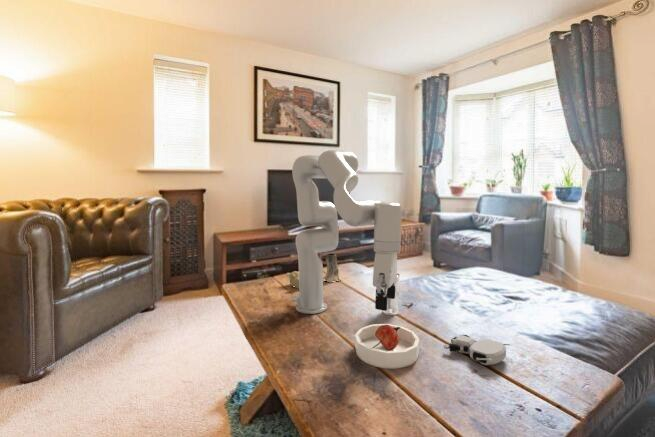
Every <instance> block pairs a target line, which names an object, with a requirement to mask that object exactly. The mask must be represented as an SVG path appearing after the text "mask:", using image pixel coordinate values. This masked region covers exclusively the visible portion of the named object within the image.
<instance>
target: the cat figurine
mask: <svg viewBox="0 0 655 437" xmlns="http://www.w3.org/2000/svg"><path fill="white" fill-rule="evenodd" d="M286 276H287V277H288V279H289V283H290V286H291V287H292V286H295V289H298V288H299V271H296V270H293V271H292V272H287V273H286Z"/></svg>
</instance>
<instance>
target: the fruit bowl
mask: <svg viewBox="0 0 655 437" xmlns="http://www.w3.org/2000/svg"><path fill="white" fill-rule="evenodd" d="M381 325H390V326H392V328H397V327H400V329H398V330H397V333H398V335H399V343H398V345H397V347H396V348H394V349H393V350H390V351H388V350H386V348H385V347H384V346H383V345H382V344H381V343H380V344H379V345H378V346H376V347H374V346H375V345H377V344H378V343H379V342H380V341H379V339H378V338H377V337H376V336H375V332H376V330H377V329H378V328H379V327H380V326H381ZM372 347H374V348H372ZM354 348H355V354H356V356H358V358H359V360H360V361H362V362H363V363H366V364H368V365H370V366H372V367H376V368H380V369H390V370H392V369H393V370H396V369H397V370H398V369H402V368H407V367H411V365H412V366H413V365H414V364H415V363H416V362H417V361H418V359H419V353H420V338H419V337H418V335H417V334H416V333H415V332H414V331H413V330H411V329H409V328H407V327H404V326H401V325H395V324H391V323H390V324H389V323H375V324H370V325H367V326H364V327H361V328H359V329H358V331H357V332H356V333H355V334H354Z"/></svg>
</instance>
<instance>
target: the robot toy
mask: <svg viewBox="0 0 655 437" xmlns="http://www.w3.org/2000/svg"><path fill="white" fill-rule="evenodd" d="M506 346H511V344H510V343H502V342H501V341H497V340H493V339H488V338H486V339H485V338H484V339H480V340H477V341H476V340H475V339H474V338H472V337H471V336H469V335H467V334H459V336H454V337H452V338H451V339H450V343H449V344H446V343H445V344H443V349H445V350H449V351H450V352H458V353H461V354H467V355H469V356H470V358H471V359H472V360H473V361H475V362H478V363H480V364H481V365H483V366H490V365H496V364H499V363H500V362H502V361H504V360H505V358H506V356H507V347H506Z"/></svg>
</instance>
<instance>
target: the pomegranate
mask: <svg viewBox="0 0 655 437" xmlns="http://www.w3.org/2000/svg"><path fill="white" fill-rule="evenodd" d="M398 329H400V327H397V328H392V326H390V325H381V326H380V327H379V328H378V329H377V330H376V332H375V336H376V337H377V338H378V339H379V341H380V342H379V343H378V344H377V345H375V346H374V347H376V346H378V345H379V344H380V343H381V344H382V345H383V346H384V347H385V348H386V350H388V351H390V350H393V349H394V348H396V347H397V345H398V343H399V335H398V333H397V330H398ZM374 347H372V348H374Z"/></svg>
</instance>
